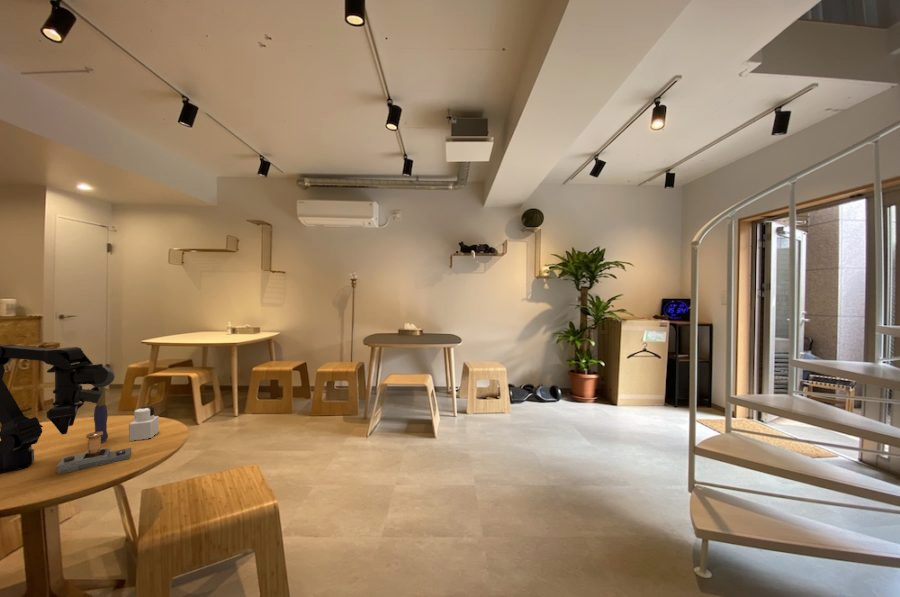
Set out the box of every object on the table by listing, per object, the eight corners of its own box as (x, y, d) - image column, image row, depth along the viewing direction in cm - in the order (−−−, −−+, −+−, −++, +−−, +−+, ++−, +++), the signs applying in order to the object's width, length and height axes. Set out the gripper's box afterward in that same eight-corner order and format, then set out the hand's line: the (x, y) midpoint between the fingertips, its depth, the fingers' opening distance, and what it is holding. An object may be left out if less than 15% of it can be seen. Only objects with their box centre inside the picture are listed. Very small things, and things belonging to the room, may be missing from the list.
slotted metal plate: (57, 474, 110) (57, 463, 110) (62, 465, 115) (62, 455, 115) (129, 458, 121) (129, 448, 121) (131, 451, 126) (131, 441, 126)
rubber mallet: (116, 443, 133) (115, 367, 133) (88, 450, 127) (88, 370, 127) (112, 434, 141) (111, 363, 141) (85, 440, 135) (85, 365, 135)
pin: (85, 466, 115) (85, 436, 115) (87, 462, 118) (87, 433, 118) (101, 463, 117) (101, 433, 117) (103, 458, 120) (103, 430, 120)
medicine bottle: (137, 434, 141) (137, 406, 141) (159, 432, 144) (158, 404, 144) (128, 441, 135) (128, 411, 135) (151, 439, 137) (150, 409, 137)
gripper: (96, 386, 114) (96, 432, 114) (104, 376, 128) (104, 417, 129) (46, 392, 107) (46, 441, 107) (60, 380, 121) (60, 423, 121)
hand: (67, 429), depth 116 cm, fingers open, 9 cm apart
